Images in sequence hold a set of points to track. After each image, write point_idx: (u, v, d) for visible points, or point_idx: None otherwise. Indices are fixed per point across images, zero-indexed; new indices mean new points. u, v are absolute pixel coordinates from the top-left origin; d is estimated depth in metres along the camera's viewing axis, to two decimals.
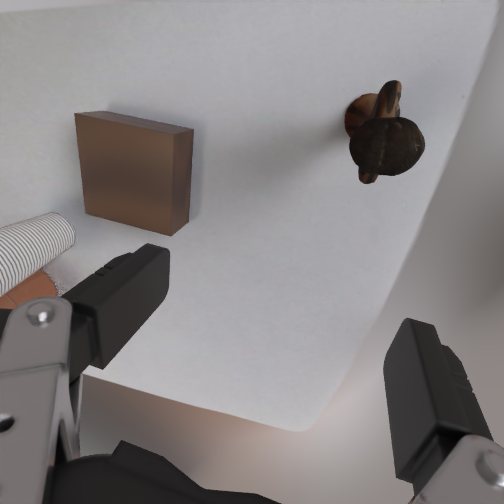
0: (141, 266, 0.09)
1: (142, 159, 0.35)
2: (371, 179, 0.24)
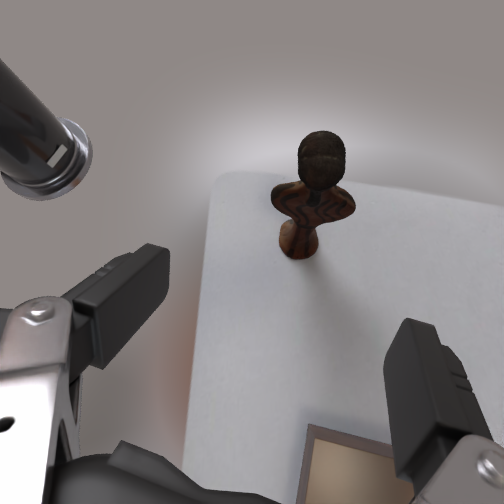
0: (141, 266, 0.09)
1: (348, 499, 0.26)
2: (350, 196, 0.26)
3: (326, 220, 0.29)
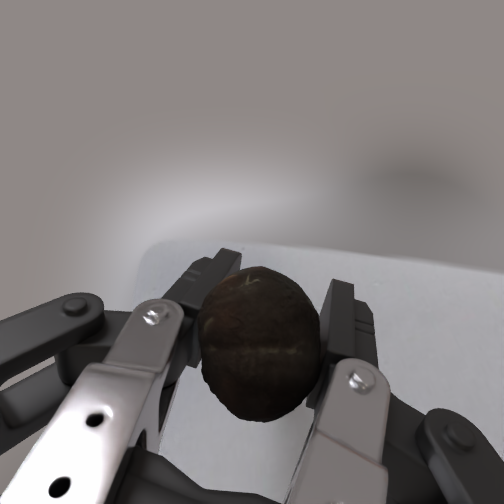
0: (226, 270, 0.10)
1: None
2: None
3: None
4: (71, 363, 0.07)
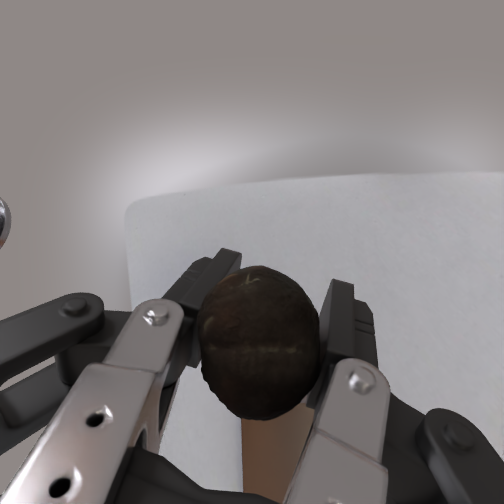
0: (226, 270, 0.10)
1: (276, 446, 0.31)
2: None
3: None
4: (71, 363, 0.07)
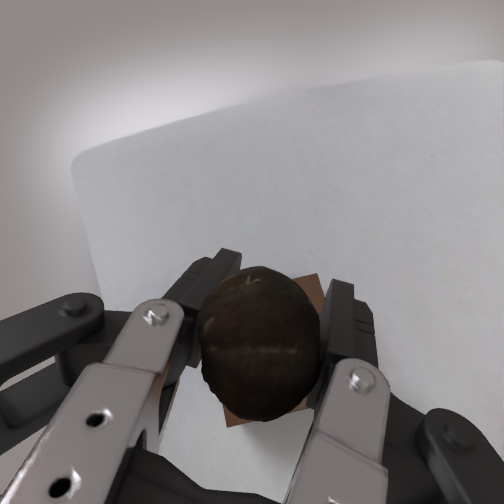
0: (226, 270, 0.10)
1: None
2: None
3: None
4: (71, 363, 0.07)
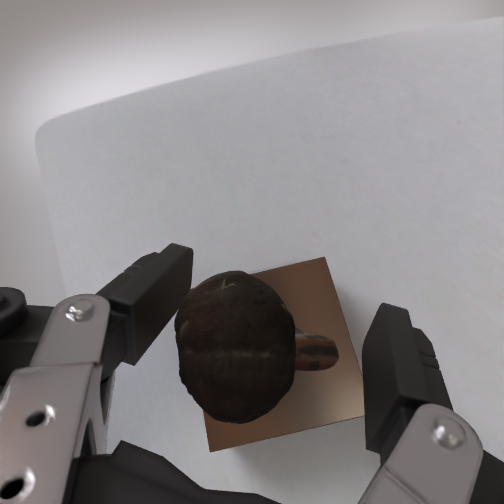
0: (169, 265, 0.10)
1: None
2: (327, 347, 0.13)
3: None
4: None
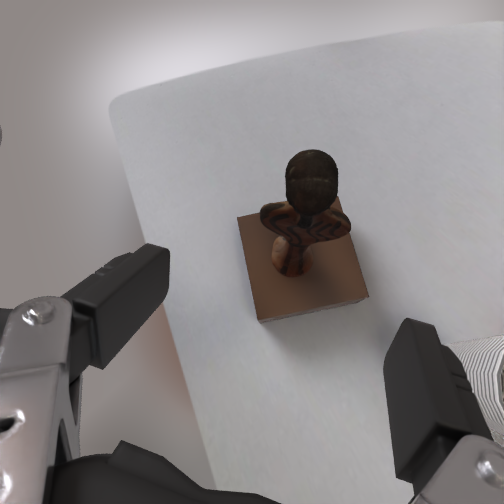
0: (141, 266, 0.09)
1: (272, 241, 0.36)
2: (345, 216, 0.24)
3: (320, 240, 0.27)
4: None
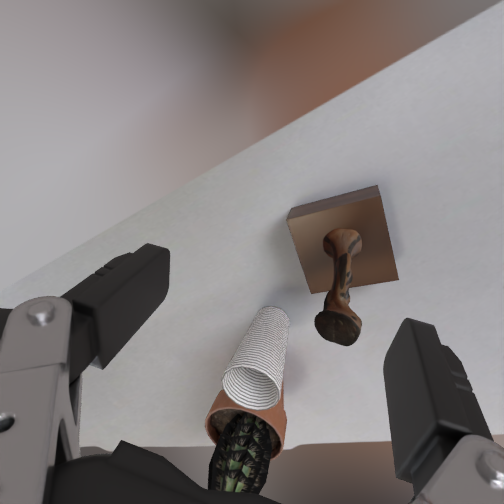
0: (141, 266, 0.09)
1: (354, 228, 0.41)
2: None
3: None
4: None
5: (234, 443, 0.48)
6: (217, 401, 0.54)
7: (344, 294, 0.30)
